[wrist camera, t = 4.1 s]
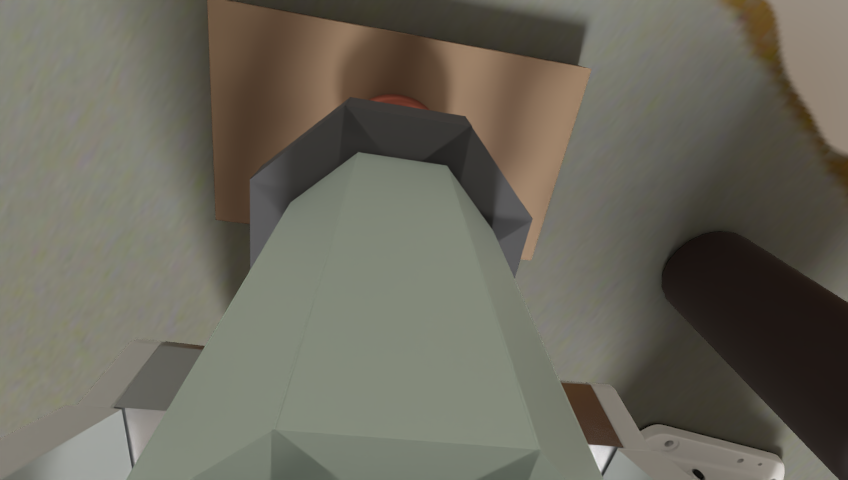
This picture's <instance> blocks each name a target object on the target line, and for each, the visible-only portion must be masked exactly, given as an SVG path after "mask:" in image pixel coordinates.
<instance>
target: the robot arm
mask: <svg viewBox="0 0 848 480" xmlns="http://www.w3.org/2000/svg"><path fill="white" fill-rule="evenodd" d="M204 347H205V346H200V345H192V344H184V343H175V342H167V341H166V342H162V341H154V340H146V339H138V338H137V339H135V340H133V341H131V342H130V343H129V344H128V345H127V346H126V347H125V348H124V349H123V351H122V352H121V353H120V354H119V355H118V356H117V358H116V359H115V360H114V361H113V362H112V364H111V365H110V366H109V367H108V368H107V370H106V371H105V372H104V373H103V374H102V375H101V377H100V378H99V379H98V380H97V381H96V383H95V384H94V385H93V386H92V387H91V389H90V390H89V391H88V392H87V393H86V394H85V396H84V397H83V398H82V399H81V400H80V402H79V403H78V404H77V405H65V406H63V407H61V408H59V409H57V410H55V411H53V412H51V413H49V414H47V415H46V416H44V417H42V418H40V419H38V420H36V421H34V422H32V423H30V424H28V425H26V426H24V427H22V428H20V429H18V430H16V431H14V432H12V433H10V434H8V435H6V436H4V437H2V438H0V480H126V479H127V477H128V475H129V473H130V472H131V470H132V468H133V467H134V465H135V463H136V462H137V460H138V458H139V457H140V455H141V453H142V452H143V450H144V448H145V446H146V445H147V443H148V441H149V440H150V438H151V436H152V435H153V433H154V431H155V430H156V428H157V426H158V425H159V423H160V421H161V420H162V418H163V416H164V414H165V413H166V411H167V409H168V408H169V406H170V404H171V403H172V401H173V399H174V398H175V396H176V394H177V393H178V391H179V389H180V387H181V386H182V384H183V382H184V381H185V379H186V377H187V376H188V374H189V372H190V371H191V369H192V367H193V366H194V364H195V362H196V361H197V359H198V357H199V355H200V354H201V352H202V350H203V349H204ZM560 382H561V384H562V387H563V389H564V391H565V393H566V396H567V398H568V400H569V402H570V405H571V407H572V409H573V411H574V414H575V416H576V418H577V420H578V423H579V425H580V427H581V429H582V432H583V434H584V436H585V438H586V441H587V443H588V445H589V447H590V450H591V452H592V454H593V456H594V459H595V461H596V463H597V465H598V468H599V470H600V472H601V474H602V477H603V479H604V480H783V479H784V473H785V469H784V464H783V462H782V461H781V459H780V458H779V457H778V456H777V455H776V454H773V453H770V452H766V451H762V450H758V449H754V448H750V447H747V446H743V445H739V444H735V443H731V442H727V441H723V440H719V439H716V438H712V437H708V436H704V435H700V434H696V433H692V432H688V431H685V430H681V429H677V428H673V427H669V426H665V425H660V424H657V425H652V426H649V427H647V428H645V429H643V430H642V431H639V429H638V427H637V426H636V424H635V422H634V420H633V419H632V417H631V415H630V414H629V412H628V410H627V409H626V407H625V405H624V404H623V402H622V400H621V398H620V397H619V395H618V393H617V392H616V390H615V389H614V388H613V387H612V386H611V385H609V384H599V383H587V382H586V383H583V382H572V381H560Z"/></svg>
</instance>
